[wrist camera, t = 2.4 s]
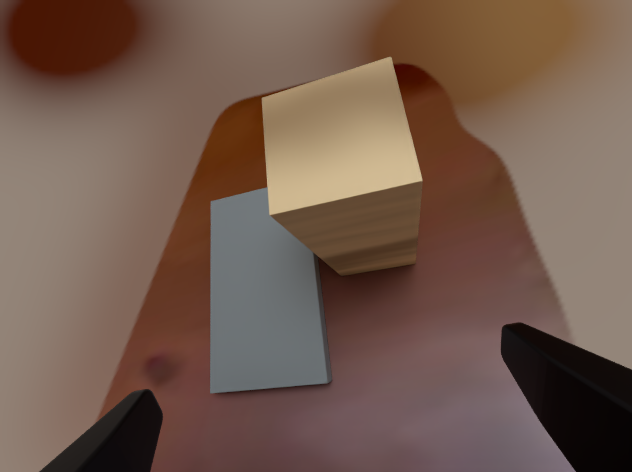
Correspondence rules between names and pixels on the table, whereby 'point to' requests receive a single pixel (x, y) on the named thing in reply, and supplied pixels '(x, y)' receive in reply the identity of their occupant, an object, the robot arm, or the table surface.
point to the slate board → (263, 301)
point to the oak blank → (345, 169)
